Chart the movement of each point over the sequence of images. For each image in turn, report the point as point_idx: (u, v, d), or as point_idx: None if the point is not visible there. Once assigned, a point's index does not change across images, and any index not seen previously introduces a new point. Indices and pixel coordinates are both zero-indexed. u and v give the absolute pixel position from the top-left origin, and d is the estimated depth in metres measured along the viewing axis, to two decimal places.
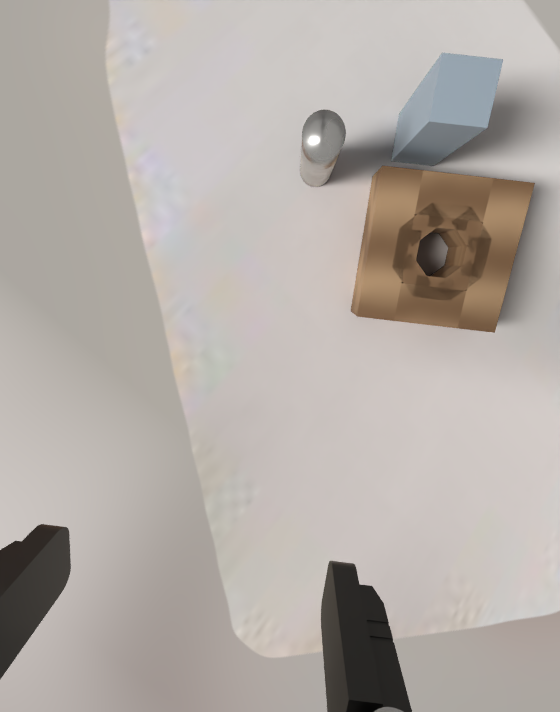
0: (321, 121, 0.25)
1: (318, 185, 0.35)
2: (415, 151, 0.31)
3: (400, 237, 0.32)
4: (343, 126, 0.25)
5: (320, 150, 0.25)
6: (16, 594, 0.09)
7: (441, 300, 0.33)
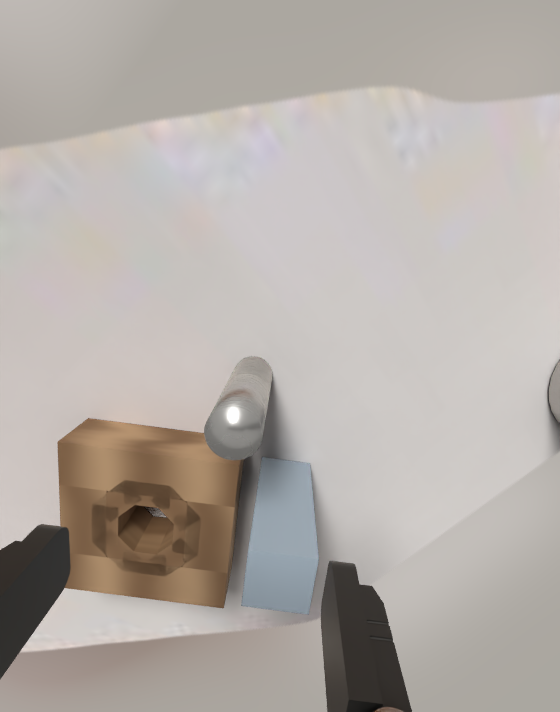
0: (248, 431, 0.18)
1: None
2: None
3: (159, 487, 0.26)
4: (242, 457, 0.19)
5: (213, 430, 0.18)
6: (16, 594, 0.09)
7: (91, 533, 0.28)
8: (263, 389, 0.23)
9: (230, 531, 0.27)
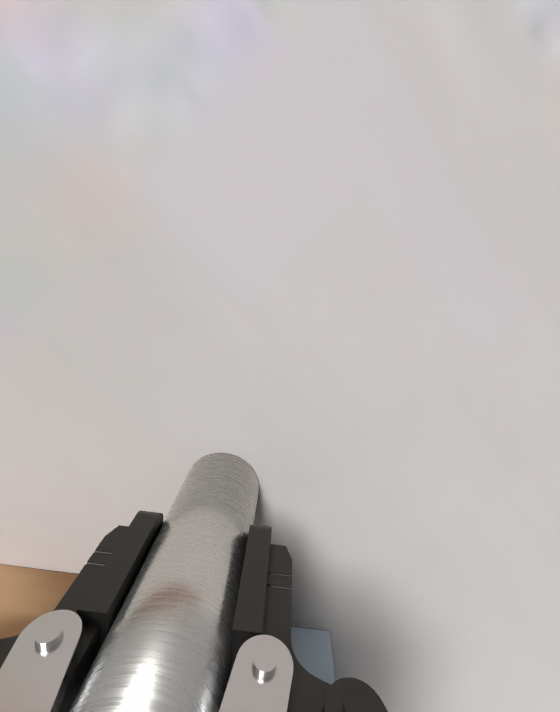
0: None
1: None
2: None
3: None
4: None
5: None
6: (135, 571, 0.10)
7: None
8: (226, 587, 0.09)
9: None
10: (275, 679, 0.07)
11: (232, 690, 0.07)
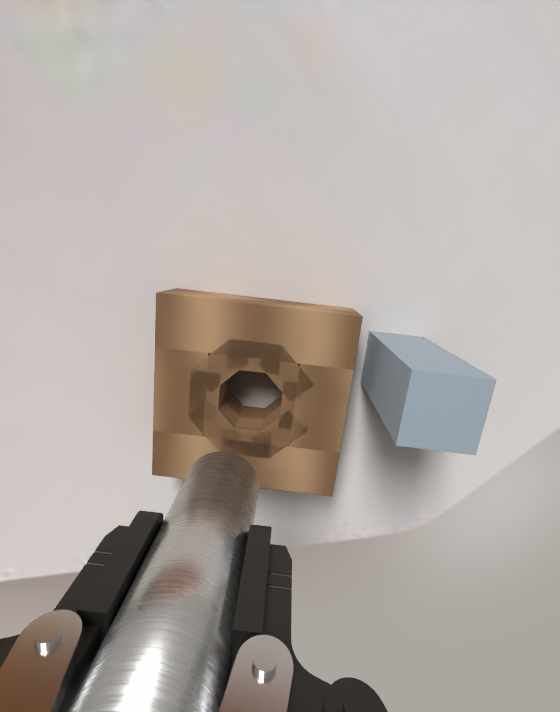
0: None
1: None
2: (377, 358, 0.24)
3: (269, 347, 0.23)
4: None
5: None
6: (135, 571, 0.10)
7: (188, 407, 0.24)
8: (227, 585, 0.09)
9: (346, 400, 0.24)
10: (275, 679, 0.07)
11: (232, 690, 0.07)
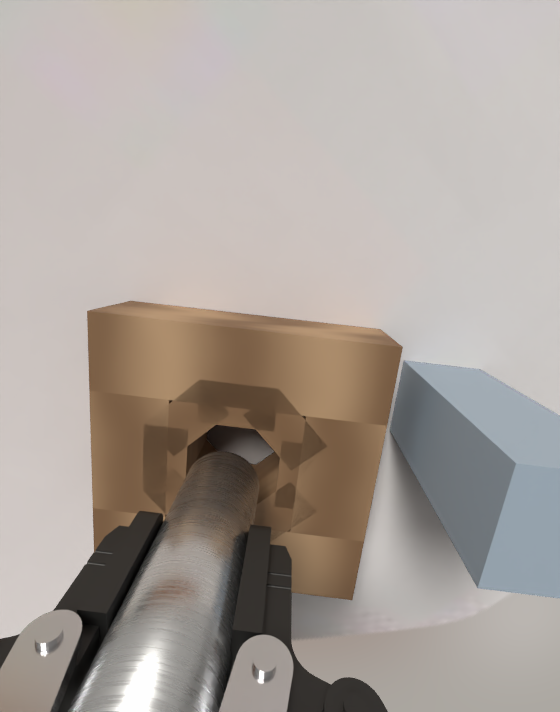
0: None
1: None
2: (421, 407, 0.16)
3: (259, 392, 0.15)
4: None
5: None
6: (135, 571, 0.10)
7: (142, 476, 0.17)
8: (226, 585, 0.09)
9: (375, 469, 0.16)
10: (275, 679, 0.07)
11: (232, 690, 0.07)
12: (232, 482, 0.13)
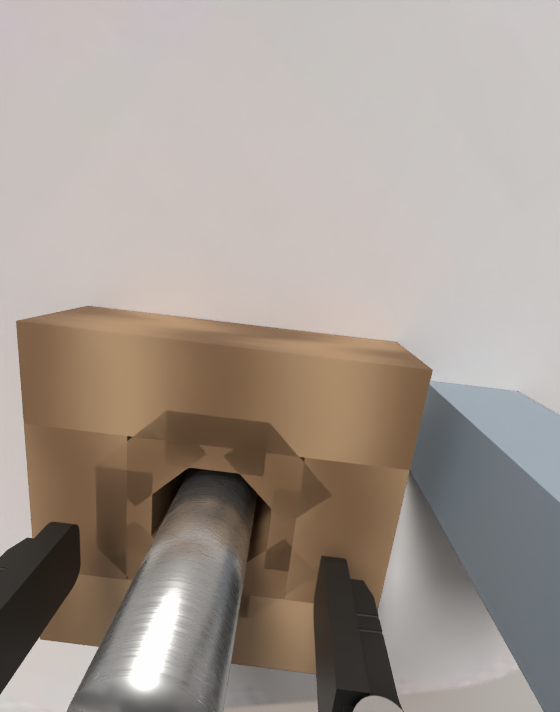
0: None
1: None
2: (453, 444, 0.12)
3: (244, 427, 0.12)
4: None
5: None
6: (30, 590, 0.09)
7: (95, 531, 0.13)
8: (236, 533, 0.11)
9: (394, 524, 0.13)
10: None
11: None
12: None
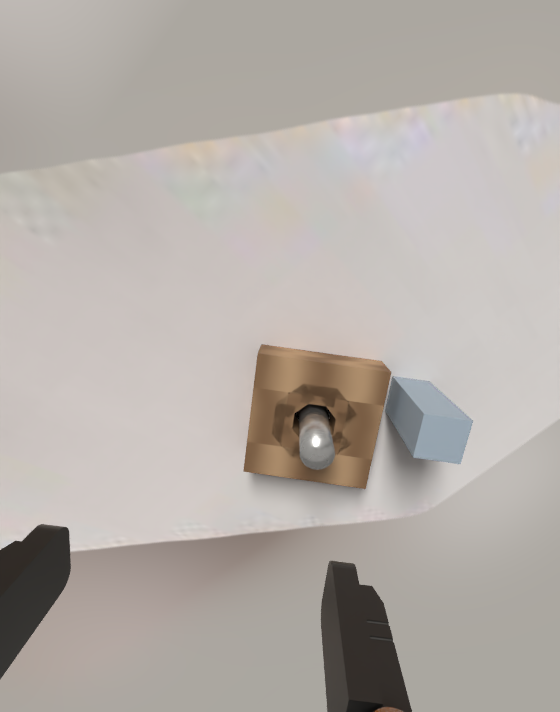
0: (326, 452, 0.31)
1: None
2: (399, 398, 0.36)
3: (329, 390, 0.36)
4: (322, 467, 0.31)
5: (305, 451, 0.31)
6: (16, 594, 0.09)
7: (272, 427, 0.37)
8: (327, 422, 0.35)
9: (378, 425, 0.36)
10: None
11: None
12: None
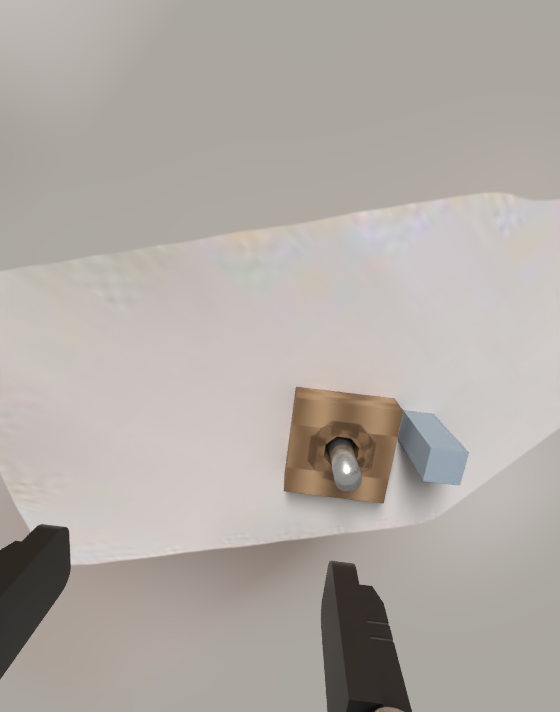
0: (355, 478, 0.39)
1: None
2: (409, 430, 0.45)
3: (353, 425, 0.44)
4: (352, 490, 0.40)
5: (339, 477, 0.39)
6: (16, 594, 0.09)
7: (307, 455, 0.46)
8: (353, 452, 0.43)
9: (393, 452, 0.45)
10: None
11: None
12: None
